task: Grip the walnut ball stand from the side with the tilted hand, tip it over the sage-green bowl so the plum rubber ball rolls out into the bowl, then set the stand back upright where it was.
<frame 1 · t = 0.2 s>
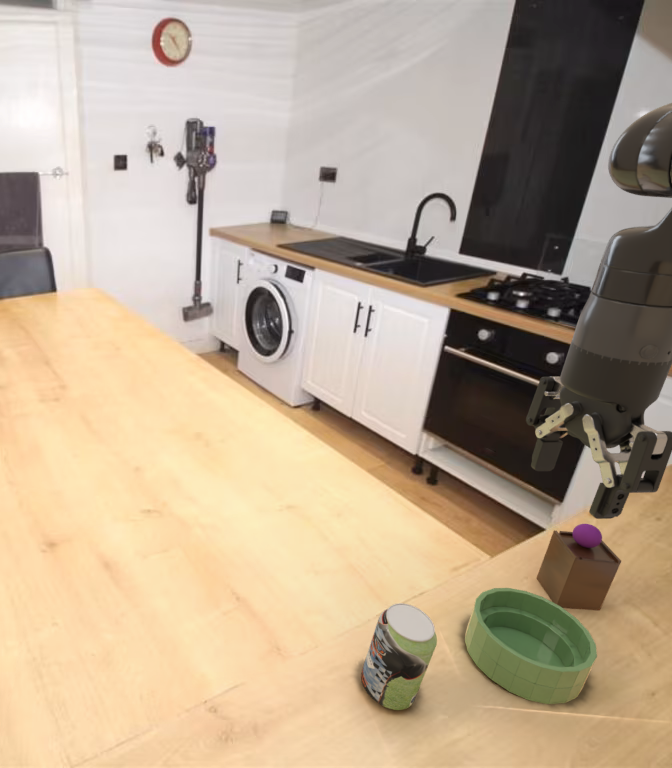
hand: (569, 491, 57), 26 cm above the table, tool pointing down, fingers open, 8 cm apart
ball: (587, 535, 74), point 10 cm above the table, touching ball stand
bowl: (519, 661, 68), on the table
beverage can: (391, 697, 63), on the table
ball stand: (566, 594, 78), on the table, touching ball
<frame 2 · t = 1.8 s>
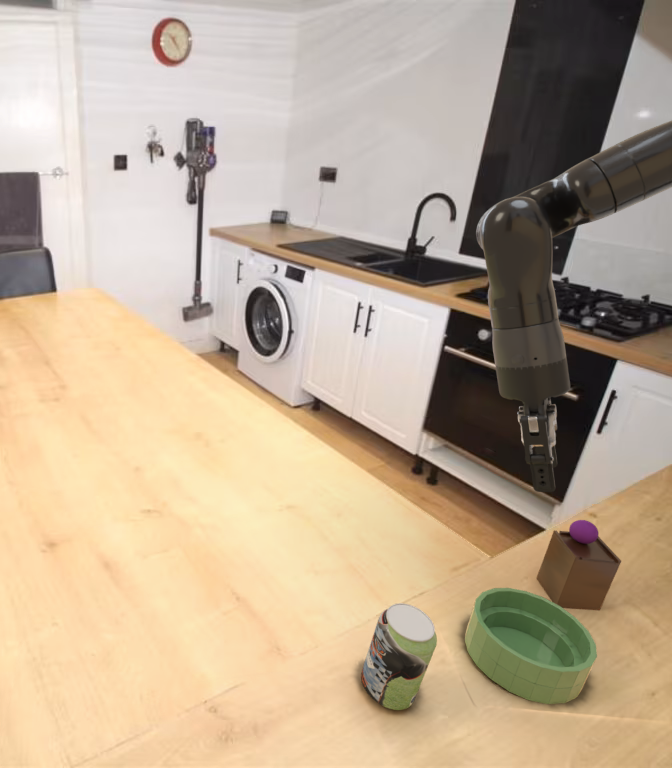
hand: (546, 478, 71), 19 cm above the table, tool tilted 20°, fingers open, 8 cm apart
ball: (583, 531, 75), point 10 cm above the table, tilted 30°, touching ball stand
everything else where it was.
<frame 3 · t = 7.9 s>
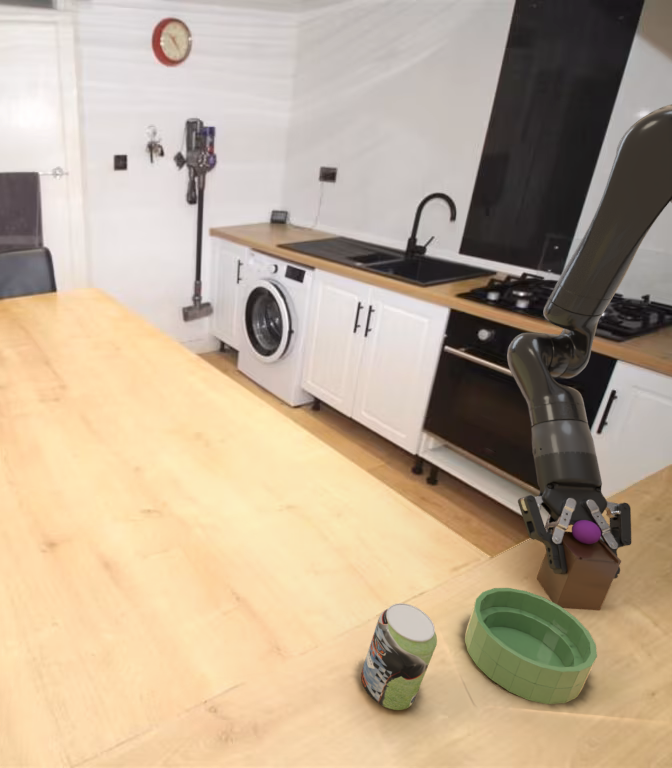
hand: (585, 575, 74), 5 cm above the table, tool tilted 45°, fingers closed on ball stand, 5 cm apart
ball stand: (566, 594, 78), on the table, touching ball, gripper
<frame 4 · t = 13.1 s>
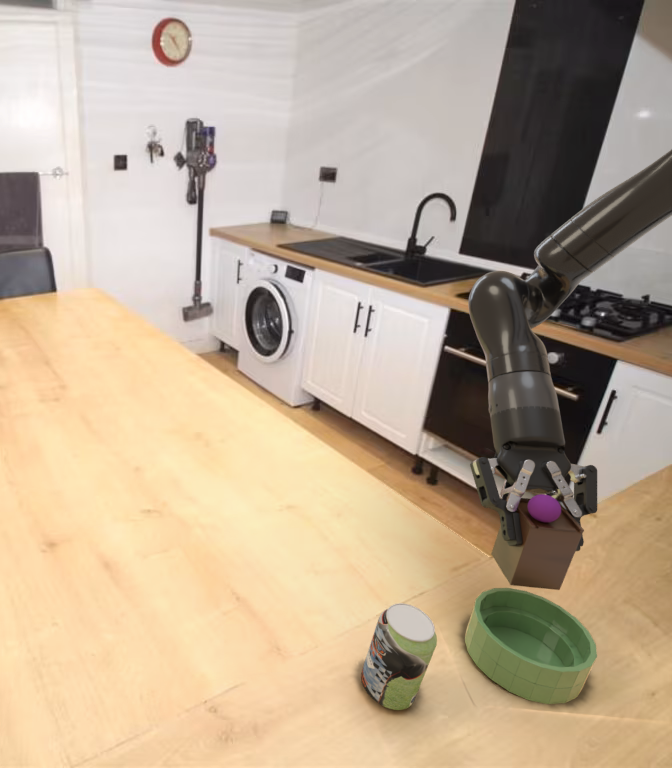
hand: (543, 547, 64), 15 cm above the table, tool tilted 45°, fingers closed on ball stand, 5 cm apart
ball: (544, 508, 63), point 20 cm above the table, tilted 50°, touching ball stand
ball stand: (523, 571, 68), point 10 cm above the table, touching ball, gripper
everything else where it was.
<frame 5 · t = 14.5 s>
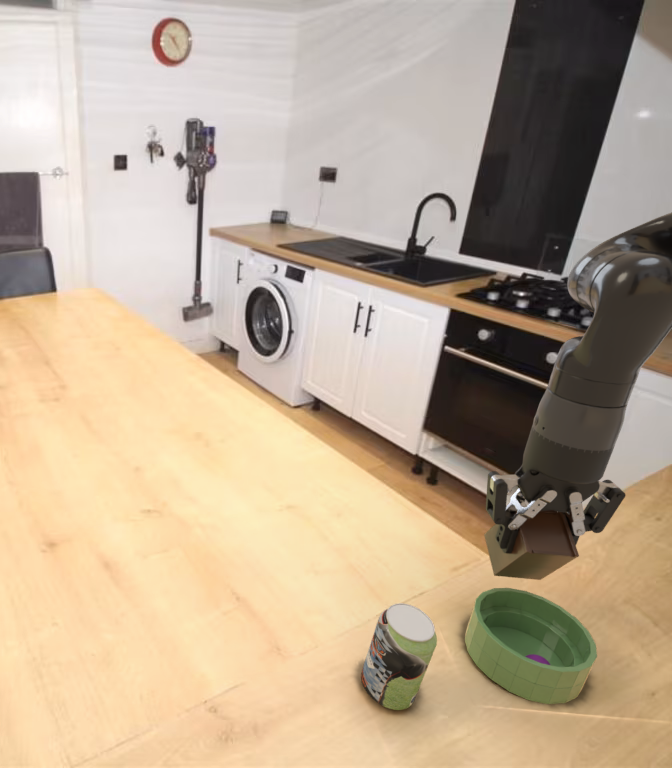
hand: (531, 551, 67), 13 cm above the table, tool pointing down, fingers closed on ball stand, 5 cm apart
ball: (536, 669, 64), point 2 cm above the table, tilted 44°, touching bowl
ball stand: (511, 556, 71), point 10 cm above the table, tilted 30°, touching gripper
everything else where it was.
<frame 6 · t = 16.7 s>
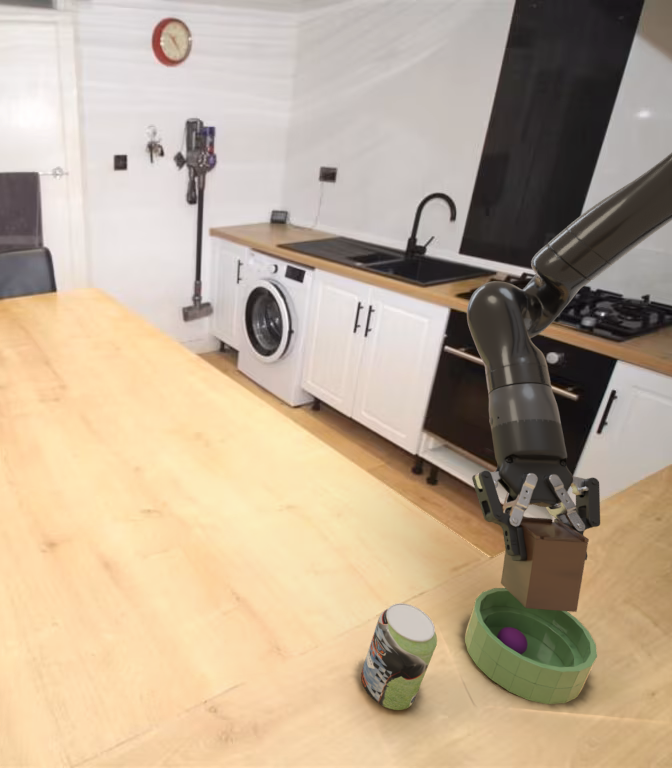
hand: (547, 562, 63), 14 cm above the table, tool tilted 45°, fingers closed on ball stand, 5 cm apart
ball: (512, 641, 68), point 2 cm above the table, tilted 111°, touching bowl
ball stand: (536, 597, 65), point 9 cm above the table, tilted 14°, touching gripper
everything else where it was.
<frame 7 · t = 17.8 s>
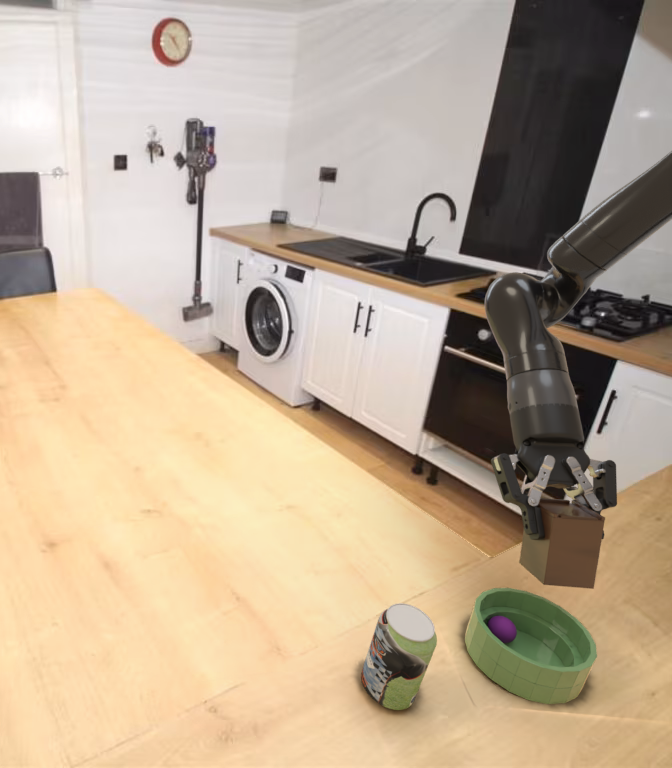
hand: (565, 541, 66), 15 cm above the table, tool tilted 45°, fingers closed on ball stand, 5 cm apart
ball: (501, 629, 69), point 2 cm above the table, tilted 144°, touching bowl
ball stand: (554, 575, 67), point 10 cm above the table, tilted 15°, touching gripper
everything else where it was.
when the fingers open (6 cm above the table, at t = 23.4 s): ball stand stays where it is, on the table.
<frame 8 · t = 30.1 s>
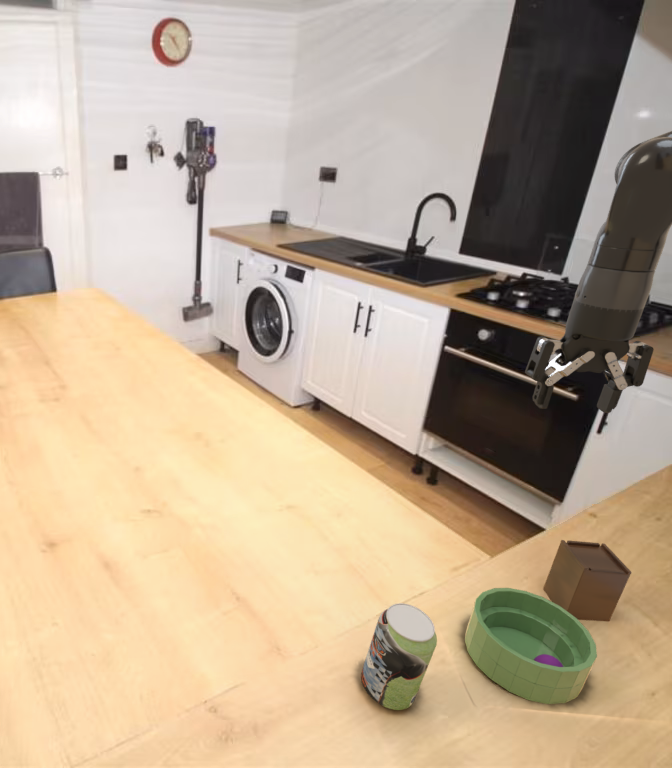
hand: (571, 408, 79), 24 cm above the table, tool pointing down, fingers open, 8 cm apart
ball: (548, 669, 64), point 2 cm above the table, tilted 58°, touching bowl
ball stand: (574, 605, 76), on the table
everything else where it was.
at the end: ball inside the target area in the bowl (3.1 cm from its centre), point 2.2 cm above the bowl's base; ball stand tilted 0°; the gripper is holding nothing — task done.
